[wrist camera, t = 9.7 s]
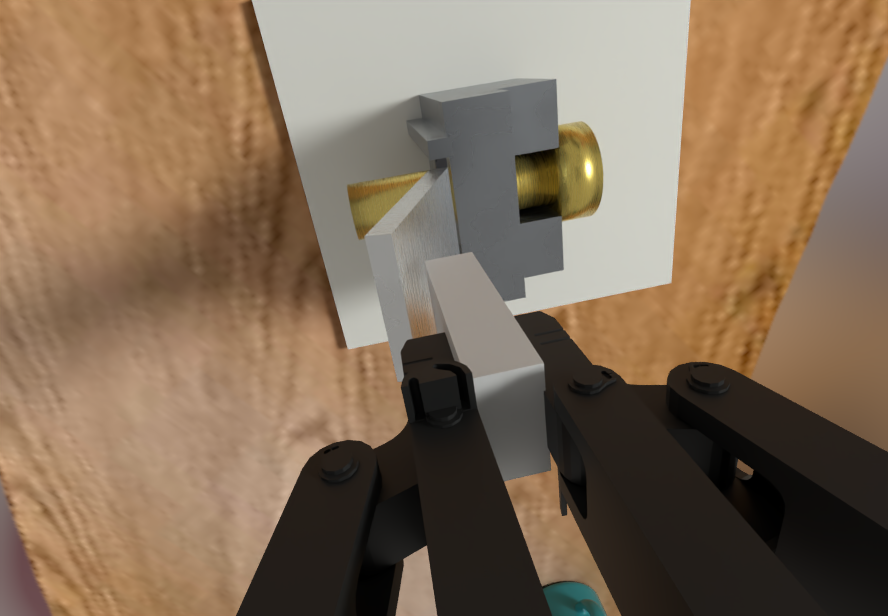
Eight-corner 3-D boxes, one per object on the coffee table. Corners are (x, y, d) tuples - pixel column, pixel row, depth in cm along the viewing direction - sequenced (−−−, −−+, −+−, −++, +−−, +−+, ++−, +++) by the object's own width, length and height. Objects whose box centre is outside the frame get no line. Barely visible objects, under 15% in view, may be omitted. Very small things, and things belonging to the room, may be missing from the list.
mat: (253, -1, 26) (251, -3, 26) (688, -67, 28) (695, -70, 28) (348, 345, 36) (348, 349, 36) (666, 279, 38) (671, 282, 37)
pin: (564, 117, 29) (603, 125, 24) (566, 204, 31) (603, 227, 26) (343, 156, 28) (340, 172, 23) (363, 243, 30) (364, 274, 25)
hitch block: (515, 78, 29) (587, 79, 20) (527, 235, 34) (590, 295, 25) (402, 97, 29) (421, 107, 20) (428, 254, 33) (455, 323, 24)
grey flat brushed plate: (447, 167, 21) (391, 233, 13) (462, 274, 23) (421, 381, 16) (429, 169, 21) (364, 236, 14) (446, 275, 23) (397, 381, 16)
